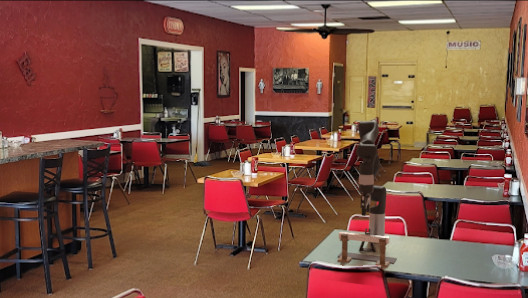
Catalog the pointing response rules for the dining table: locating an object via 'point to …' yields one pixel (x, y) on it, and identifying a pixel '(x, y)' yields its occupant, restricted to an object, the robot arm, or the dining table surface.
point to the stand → (348, 259)
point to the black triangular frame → (370, 244)
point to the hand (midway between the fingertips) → (365, 213)
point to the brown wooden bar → (364, 237)
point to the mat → (368, 257)
